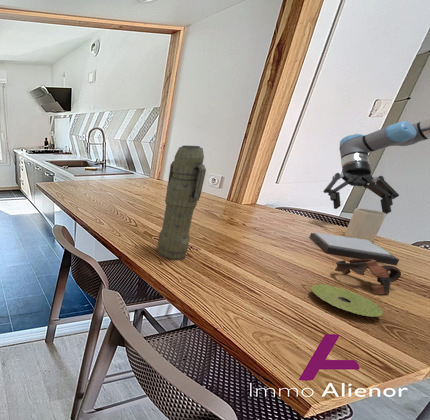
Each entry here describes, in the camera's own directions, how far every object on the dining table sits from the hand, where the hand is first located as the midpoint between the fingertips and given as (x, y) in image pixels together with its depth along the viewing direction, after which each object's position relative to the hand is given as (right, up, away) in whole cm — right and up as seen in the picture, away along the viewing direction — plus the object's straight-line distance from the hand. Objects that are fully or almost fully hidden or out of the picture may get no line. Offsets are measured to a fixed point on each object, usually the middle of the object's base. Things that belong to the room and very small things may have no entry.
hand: (361, 210), depth 95 cm
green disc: (-52, -23, -37) cm, 68 cm away
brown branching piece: (-36, -20, -29) cm, 51 cm away
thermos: (-82, -15, -14) cm, 84 cm away
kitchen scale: (-18, -14, -10) cm, 25 cm away
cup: (-2, -11, -1) cm, 11 cm away
